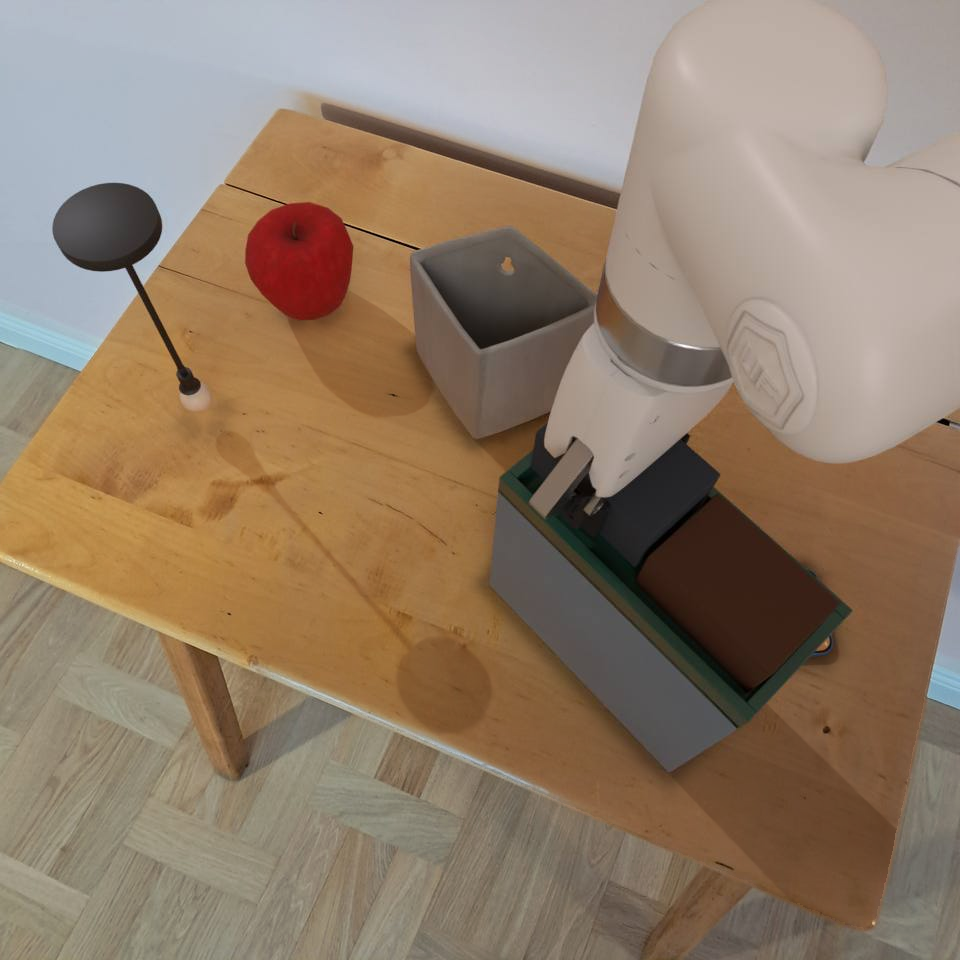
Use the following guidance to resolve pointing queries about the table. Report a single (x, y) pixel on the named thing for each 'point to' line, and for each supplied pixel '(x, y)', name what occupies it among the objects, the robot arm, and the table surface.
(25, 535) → the table surface
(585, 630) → the stand
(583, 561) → the box
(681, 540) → the brown block
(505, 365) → the planter
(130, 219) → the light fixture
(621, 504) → the dark grey rectangular block
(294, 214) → the apple
